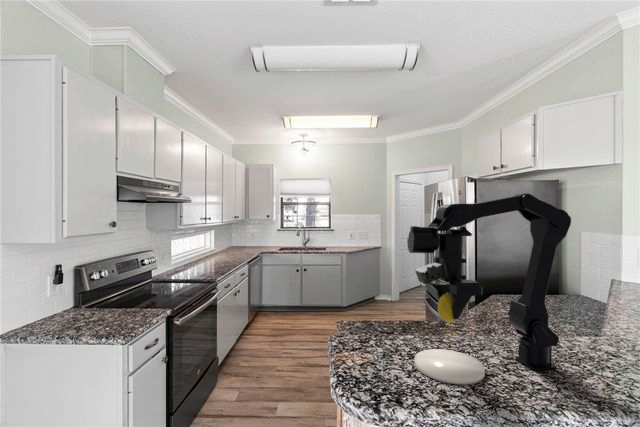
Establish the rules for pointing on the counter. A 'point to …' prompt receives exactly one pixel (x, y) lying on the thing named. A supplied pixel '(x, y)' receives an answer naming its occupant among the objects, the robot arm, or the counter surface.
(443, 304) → the lemon
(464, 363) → the plate
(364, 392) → the counter surface
